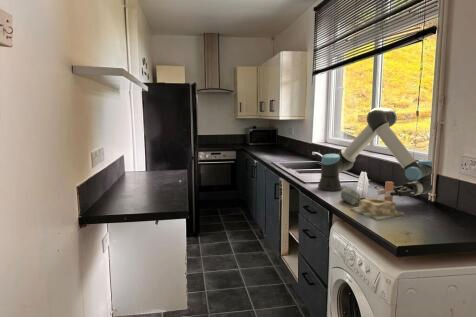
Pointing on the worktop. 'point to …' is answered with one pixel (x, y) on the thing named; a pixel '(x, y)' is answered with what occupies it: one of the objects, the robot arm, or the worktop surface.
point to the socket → (377, 208)
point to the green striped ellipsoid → (350, 196)
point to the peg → (389, 188)
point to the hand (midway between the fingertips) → (381, 193)
